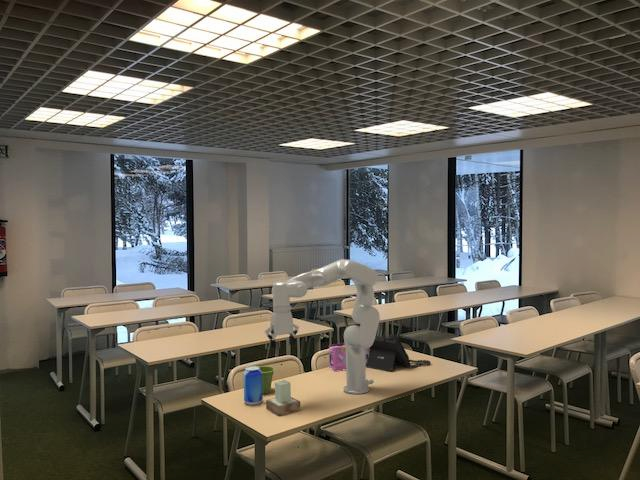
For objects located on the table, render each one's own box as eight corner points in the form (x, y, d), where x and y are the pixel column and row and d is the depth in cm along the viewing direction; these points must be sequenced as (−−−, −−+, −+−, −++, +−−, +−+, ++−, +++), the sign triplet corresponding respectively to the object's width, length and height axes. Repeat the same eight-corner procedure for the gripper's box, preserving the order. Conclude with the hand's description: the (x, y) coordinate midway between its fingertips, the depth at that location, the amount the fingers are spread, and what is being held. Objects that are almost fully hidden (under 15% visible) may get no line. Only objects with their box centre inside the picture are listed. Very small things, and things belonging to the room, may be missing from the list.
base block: (287, 403, 234) (287, 394, 234) (300, 410, 225) (300, 401, 225) (266, 408, 228) (266, 399, 228) (278, 416, 219) (278, 406, 219)
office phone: (433, 363, 295) (432, 329, 295) (407, 375, 274) (406, 337, 273) (390, 356, 315) (390, 323, 314) (362, 365, 293) (362, 330, 293)
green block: (285, 397, 230) (284, 380, 230) (290, 400, 226) (290, 382, 225) (275, 400, 227) (274, 382, 227) (281, 403, 223) (280, 384, 223)
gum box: (332, 372, 284) (332, 347, 283) (326, 368, 291) (326, 345, 291) (370, 366, 294) (369, 342, 293) (363, 363, 301) (362, 340, 301)
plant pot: (261, 397, 244) (261, 373, 244) (246, 392, 252) (245, 369, 252) (280, 391, 252) (279, 368, 252) (264, 386, 261) (264, 364, 260)
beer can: (247, 406, 231) (246, 371, 231) (242, 401, 239) (241, 367, 239) (264, 403, 235) (263, 369, 234) (259, 398, 242) (258, 364, 242)
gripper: (293, 306, 240) (294, 342, 241) (260, 310, 231) (261, 348, 231) (302, 308, 234) (303, 345, 235) (268, 312, 225) (269, 351, 225)
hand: (282, 346), depth 233 cm, fingers open, 9 cm apart
